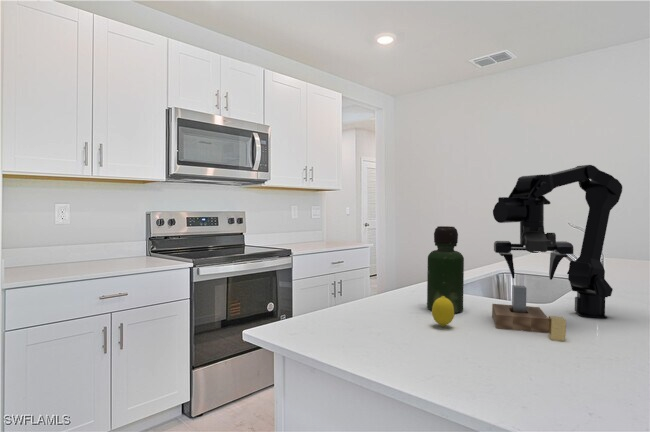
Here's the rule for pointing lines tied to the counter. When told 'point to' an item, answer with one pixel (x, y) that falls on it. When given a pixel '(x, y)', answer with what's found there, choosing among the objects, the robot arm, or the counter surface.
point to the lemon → (443, 311)
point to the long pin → (518, 299)
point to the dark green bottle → (445, 269)
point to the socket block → (520, 318)
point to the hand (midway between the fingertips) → (531, 278)
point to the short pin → (557, 328)
